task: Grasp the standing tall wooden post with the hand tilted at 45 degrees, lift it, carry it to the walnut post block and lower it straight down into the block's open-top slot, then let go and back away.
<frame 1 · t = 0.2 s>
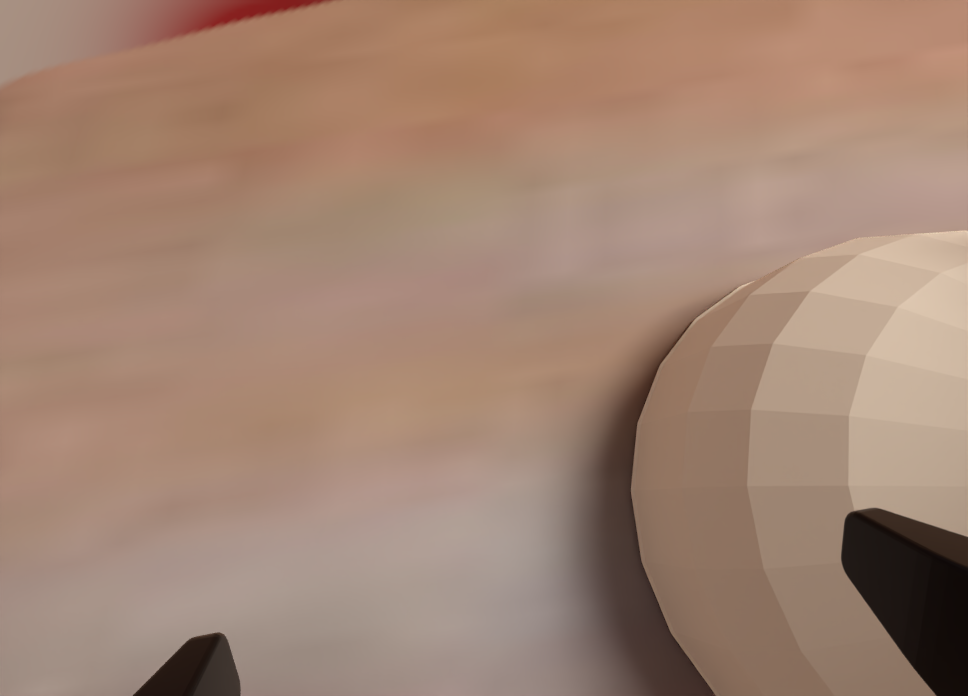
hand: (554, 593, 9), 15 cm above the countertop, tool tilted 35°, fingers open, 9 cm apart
kettle: (870, 502, 25), on the countertop
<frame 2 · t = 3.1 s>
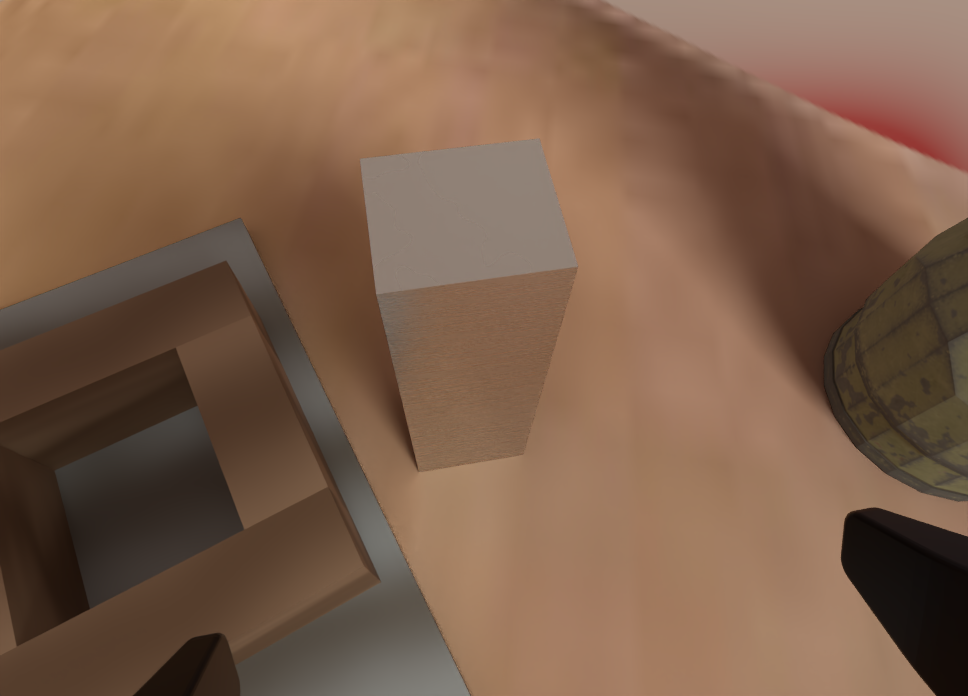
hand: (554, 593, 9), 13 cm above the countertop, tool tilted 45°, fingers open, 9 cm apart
olive cylinder: (925, 398, 25), on the countertop
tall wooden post: (463, 420, 24), on the countertop
slotted post block: (175, 514, 22), on the countertop
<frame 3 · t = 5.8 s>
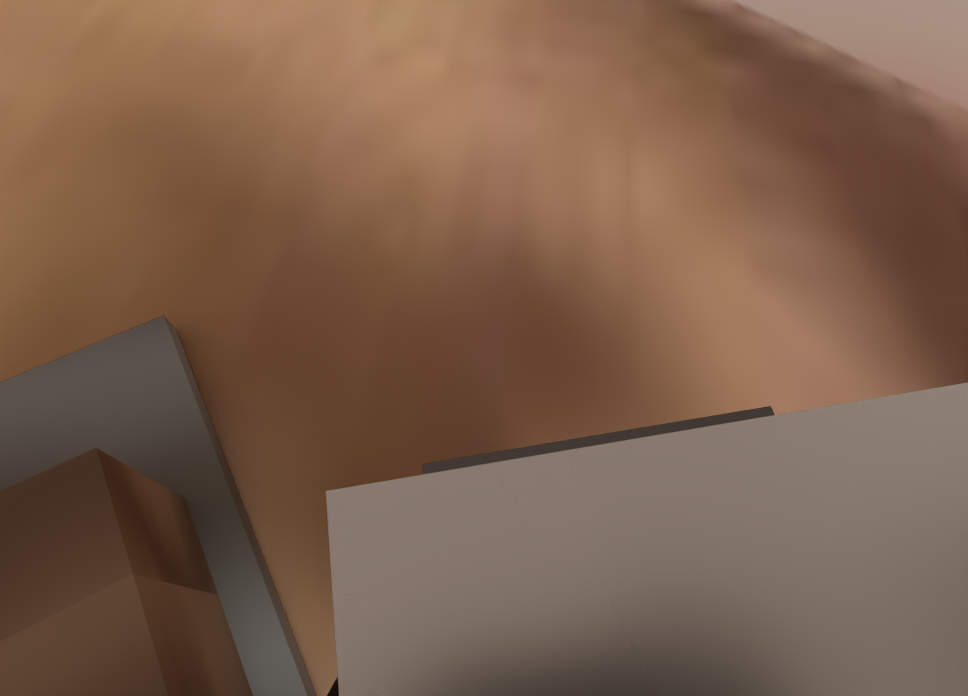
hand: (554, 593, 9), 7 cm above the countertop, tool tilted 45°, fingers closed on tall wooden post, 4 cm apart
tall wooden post: (529, 684, 14), on the countertop, touching gripper
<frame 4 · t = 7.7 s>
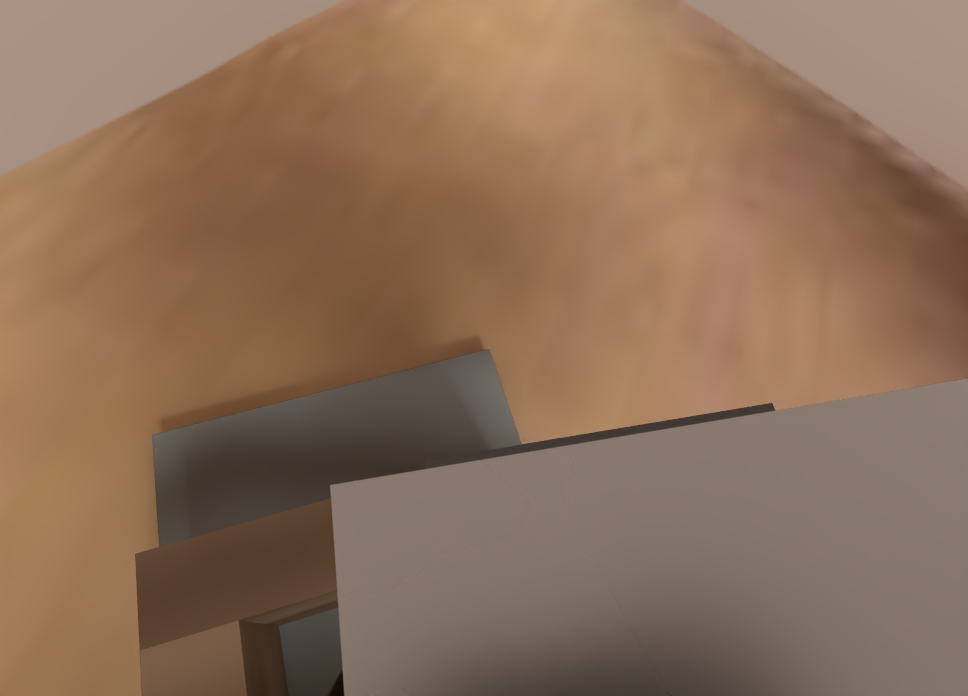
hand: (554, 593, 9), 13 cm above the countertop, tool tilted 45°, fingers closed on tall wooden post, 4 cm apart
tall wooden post: (530, 682, 14), point 7 cm above the countertop, touching gripper
when the fingers open (8 cm above the countertop, at t = 9.5 s): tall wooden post drops 1 cm, resting on slotted post block.
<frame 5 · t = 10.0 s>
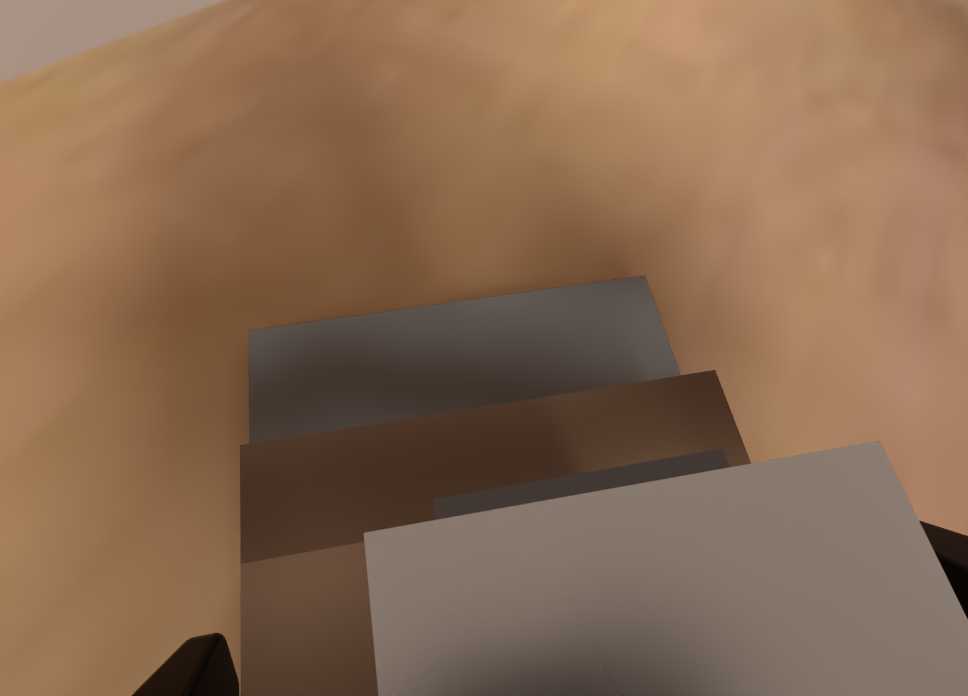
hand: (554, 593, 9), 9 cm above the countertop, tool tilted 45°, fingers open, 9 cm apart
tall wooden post: (525, 681, 15), point 1 cm above the countertop, touching slotted post block
slotted post block: (521, 680, 16), on the countertop
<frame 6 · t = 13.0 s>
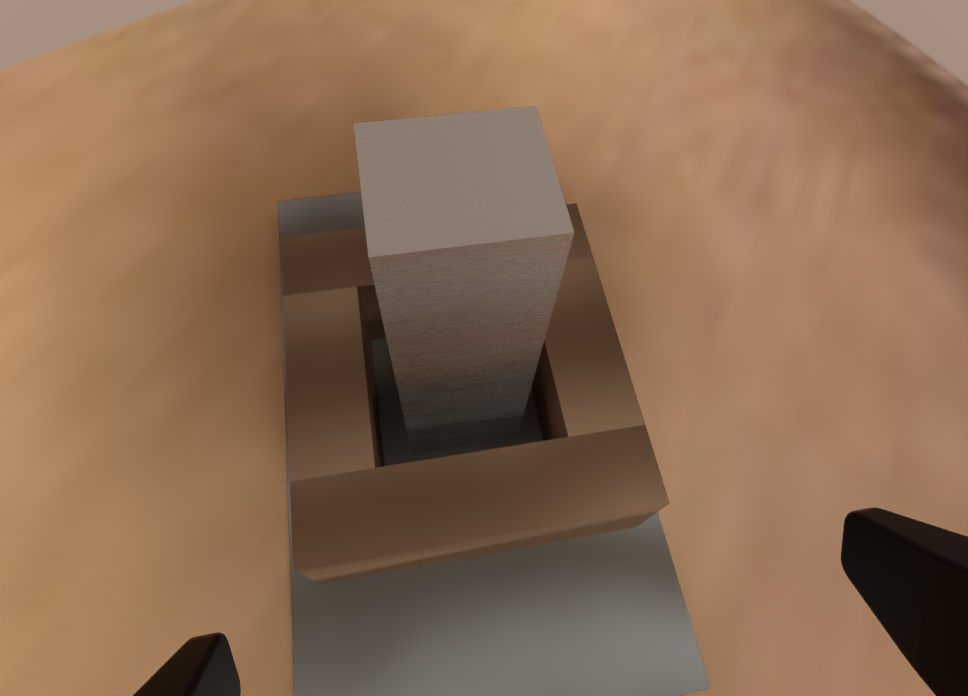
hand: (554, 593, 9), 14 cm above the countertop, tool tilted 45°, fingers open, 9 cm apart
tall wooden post: (457, 402, 24), point 1 cm above the countertop, touching slotted post block
slotted post block: (456, 410, 24), on the countertop
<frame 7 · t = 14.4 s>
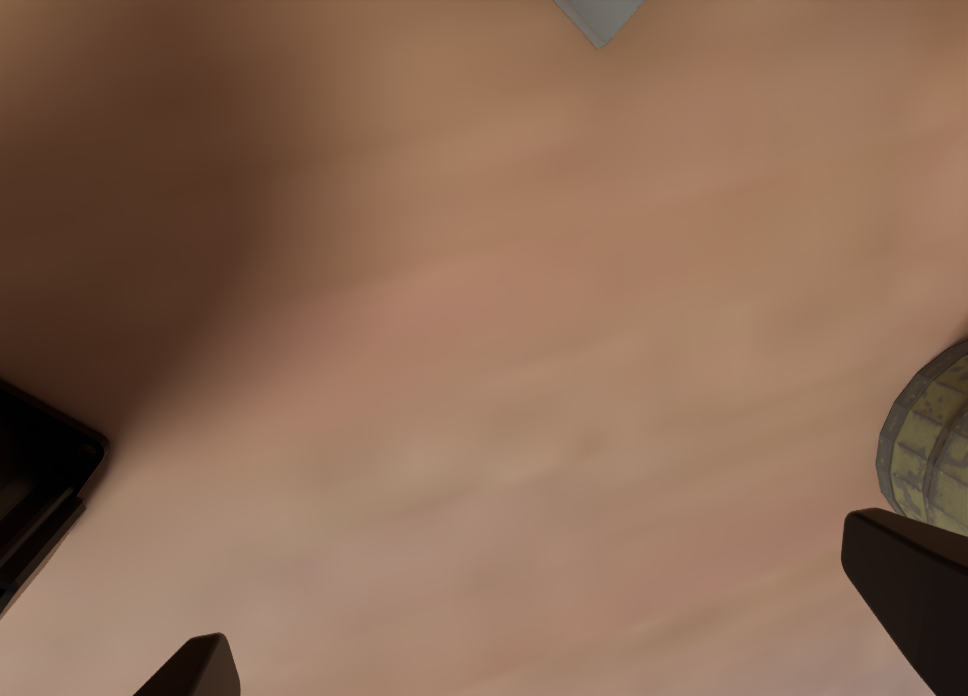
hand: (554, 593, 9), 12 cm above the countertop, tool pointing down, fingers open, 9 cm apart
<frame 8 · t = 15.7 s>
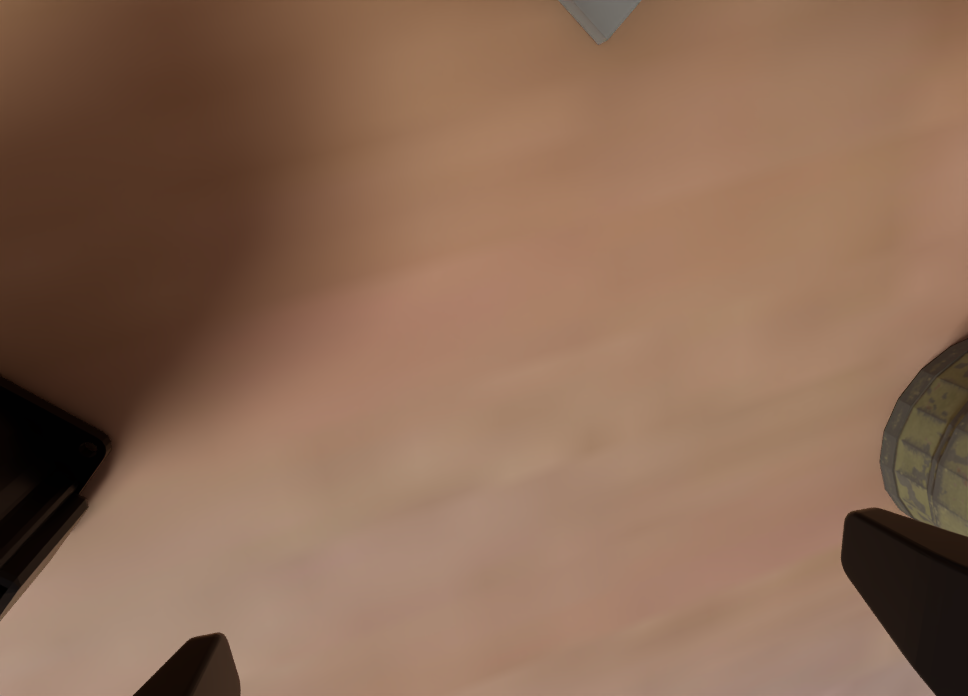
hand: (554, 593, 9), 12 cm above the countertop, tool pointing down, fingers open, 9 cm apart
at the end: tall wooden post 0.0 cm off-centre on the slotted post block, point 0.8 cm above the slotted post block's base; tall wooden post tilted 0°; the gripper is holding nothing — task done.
